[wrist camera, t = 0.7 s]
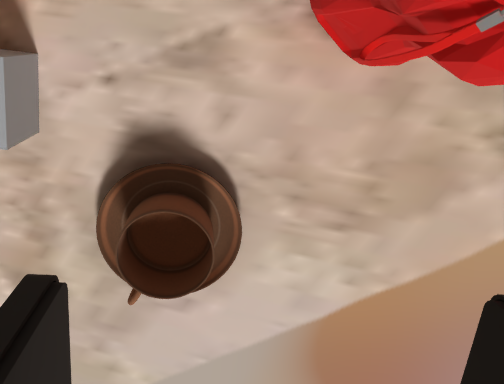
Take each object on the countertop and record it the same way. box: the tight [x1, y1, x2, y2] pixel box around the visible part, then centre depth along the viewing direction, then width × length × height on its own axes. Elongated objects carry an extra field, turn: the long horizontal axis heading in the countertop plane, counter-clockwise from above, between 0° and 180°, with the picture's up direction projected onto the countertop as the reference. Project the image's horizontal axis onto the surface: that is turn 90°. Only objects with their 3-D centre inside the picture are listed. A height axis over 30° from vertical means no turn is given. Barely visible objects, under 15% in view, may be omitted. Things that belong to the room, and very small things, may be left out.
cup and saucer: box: [96, 163, 242, 305], centre depth 37 cm, size 12×12×6 cm
